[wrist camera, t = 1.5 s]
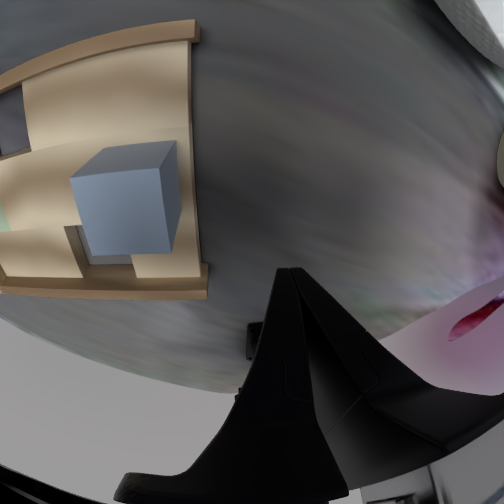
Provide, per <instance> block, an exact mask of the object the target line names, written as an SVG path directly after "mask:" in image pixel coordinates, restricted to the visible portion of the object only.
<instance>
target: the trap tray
mask: <svg viewBox="0 0 504 504" xmlns="http://www.w3.org/2000/svg"><path fill="white" fill-rule="evenodd" d="M191 43H200V26H199V25H198V23H197V22H196V20H195V19H192V20H181V21H171V22H164V23H156V24H150V25H144V26H138V27H133V28H128V29H124V30H119V31H115V32H111V33H107V34H103V35H99V36H95V37H92V38H89V39H85V40H82V41H79V42H76V43H73V44H70V45H67V46H64V47H61V48H59V49H56V50H53V51H51V52H48V53H46V54H43V55H41V56H39V57H36V58H34V59H32V60H30V61H27V62H25V63H23V64H21V65H19V66H17V67H15V68H13V69H11V70H9V71H7V72H5V73H4V74H2V75H0V95H1V94H2V93H4V92H7V91H9V90H11V89H13V88H15V87H17V86H19V85H22V89H23V99H24V108H25V115H26V122H27V128H28V134H29V140H30V145H31V148H27V149H24V150H20V151H17V152H14V153H11V154H8V155H5V156H2V157H1V153H0V293H4V294H15V295H28V296H43V297H60V298H81V299H111V300H208V277H209V270H208V263H202V262H201V252H200V242H199V230H198V218H197V206H196V192H195V176H194V158H193V136H192V104H191ZM170 140H176V147H177V161H178V173H179V185H180V195H181V205H182V211H181V215H180V219H179V223H178V227H177V231H176V235H175V239H174V244H173V248H172V252H171V254H135V255H131V259H132V262H133V265H89V263H88V261H87V258H86V255H85V253H84V250H83V247H82V244H81V241H80V239H79V236H78V233H77V230H76V227H75V225H82V223H81V219H80V216H79V213H78V209H77V205H76V202H75V198H74V194H73V190H72V187H71V182H70V177H71V176H72V175H73V174H75V173H76V172H77V171H78V170H79V169H80V168H81V167H82V166H83V165H84V164H86V163H87V162H88V161H89V160H90V159H91V158H93V157H94V156H95V155H96V154H97V153H98V152H100V151H101V150H102V149H103V148H107V147H114V146H121V145H129V144H138V143H147V142H158V141H170Z"/></svg>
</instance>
